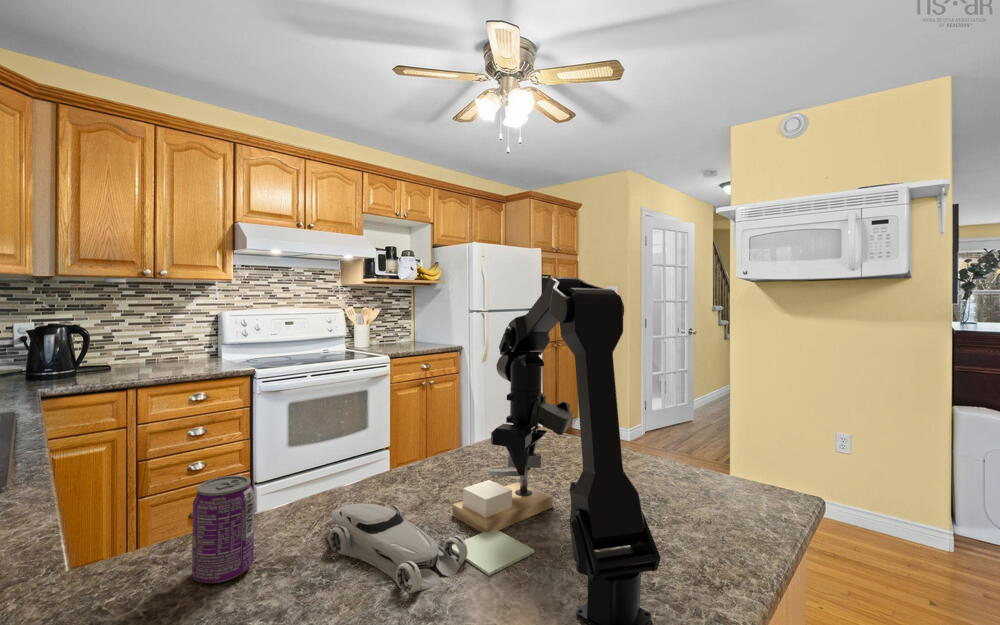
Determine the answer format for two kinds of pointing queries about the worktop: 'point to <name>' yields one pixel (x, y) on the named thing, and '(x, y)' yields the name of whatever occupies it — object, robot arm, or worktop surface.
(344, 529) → the car model
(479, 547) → the pad
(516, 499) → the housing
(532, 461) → the lever handle
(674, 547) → the worktop surface
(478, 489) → the cover
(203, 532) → the beverage can
